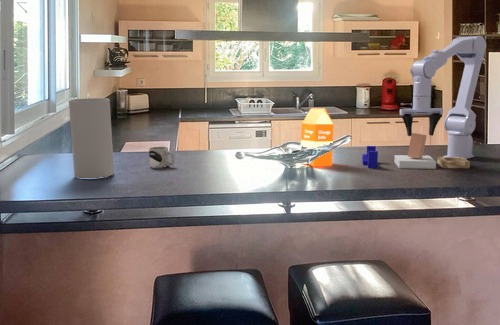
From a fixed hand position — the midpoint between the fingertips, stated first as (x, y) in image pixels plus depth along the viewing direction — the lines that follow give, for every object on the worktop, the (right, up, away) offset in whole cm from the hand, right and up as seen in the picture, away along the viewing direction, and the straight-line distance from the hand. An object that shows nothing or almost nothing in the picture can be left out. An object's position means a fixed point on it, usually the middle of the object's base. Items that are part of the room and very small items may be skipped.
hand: (420, 135), depth 186 cm
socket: (+11, -10, -1) cm, 15 cm away
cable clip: (-17, -11, +2) cm, 20 cm away
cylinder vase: (-110, -14, -10) cm, 111 cm away
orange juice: (-36, -10, +4) cm, 37 cm away
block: (-2, -8, 0) cm, 8 cm away
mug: (-90, -11, +4) cm, 91 cm away
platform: (-2, -10, +1) cm, 10 cm away
